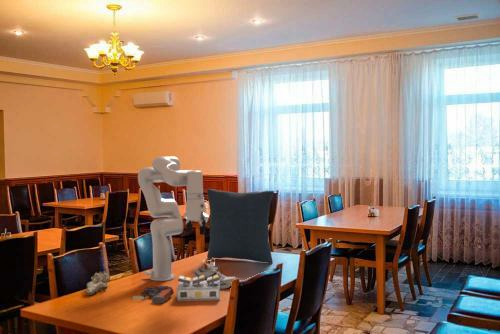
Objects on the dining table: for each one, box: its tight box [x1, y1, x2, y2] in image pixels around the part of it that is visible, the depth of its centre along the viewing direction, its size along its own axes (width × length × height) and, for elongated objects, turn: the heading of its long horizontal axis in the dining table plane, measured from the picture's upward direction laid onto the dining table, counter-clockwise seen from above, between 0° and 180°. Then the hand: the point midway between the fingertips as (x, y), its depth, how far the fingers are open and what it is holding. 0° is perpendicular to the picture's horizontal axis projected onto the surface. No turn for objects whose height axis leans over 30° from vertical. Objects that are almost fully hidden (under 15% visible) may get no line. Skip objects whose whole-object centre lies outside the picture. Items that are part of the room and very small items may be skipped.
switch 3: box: [207, 275, 219, 284], centre depth 222 cm, size 6×5×2 cm
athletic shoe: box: [193, 263, 237, 290], centre depth 241 cm, size 10×23×12 cm, turn 78°
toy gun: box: [131, 285, 175, 304], centre depth 223 cm, size 18×5×15 cm
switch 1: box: [177, 275, 192, 284], centre depth 222 cm, size 6×5×2 cm
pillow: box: [206, 188, 275, 264], centre depth 292 cm, size 44×16×44 cm, turn 70°
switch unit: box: [176, 280, 221, 302], centre depth 222 cm, size 19×12×7 cm, turn 93°
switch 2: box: [191, 275, 205, 284], centre depth 222 cm, size 6×5×2 cm
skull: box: [85, 271, 110, 296], centre depth 233 cm, size 9×18×10 cm
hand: (196, 233), depth 228 cm, fingers open, 9 cm apart
